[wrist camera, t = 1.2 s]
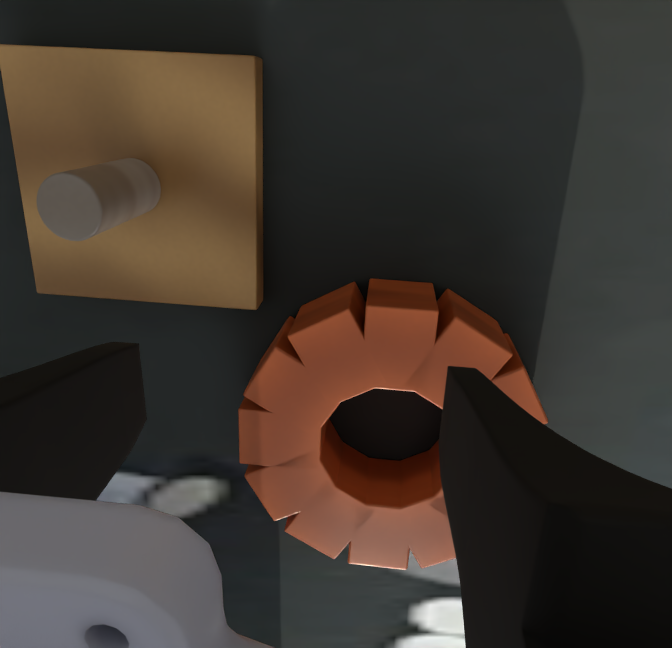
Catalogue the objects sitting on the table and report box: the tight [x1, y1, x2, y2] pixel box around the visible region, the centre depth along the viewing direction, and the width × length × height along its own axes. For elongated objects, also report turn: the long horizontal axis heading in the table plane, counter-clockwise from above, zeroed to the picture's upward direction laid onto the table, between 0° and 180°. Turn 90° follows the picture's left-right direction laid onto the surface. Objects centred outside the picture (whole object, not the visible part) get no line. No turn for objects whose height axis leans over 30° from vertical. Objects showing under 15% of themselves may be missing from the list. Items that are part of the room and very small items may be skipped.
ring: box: [238, 279, 548, 570], centre depth 23 cm, size 12×12×3 cm
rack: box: [0, 44, 263, 310], centre depth 19 cm, size 9×9×6 cm
